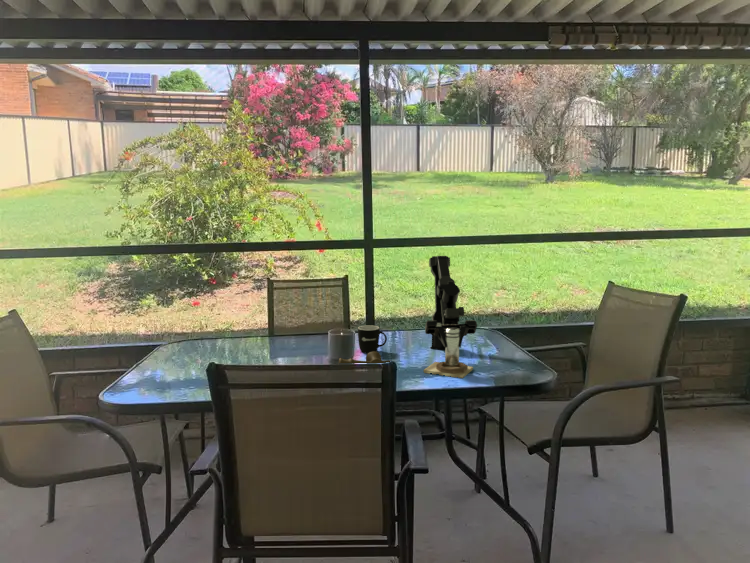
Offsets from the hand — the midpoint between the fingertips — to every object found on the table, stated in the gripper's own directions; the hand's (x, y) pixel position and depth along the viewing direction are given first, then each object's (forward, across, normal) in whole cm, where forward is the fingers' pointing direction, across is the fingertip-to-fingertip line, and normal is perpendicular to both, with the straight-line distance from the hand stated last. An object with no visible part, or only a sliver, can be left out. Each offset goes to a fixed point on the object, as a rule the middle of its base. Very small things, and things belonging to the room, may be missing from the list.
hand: (452, 346), depth 218 cm
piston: (+4, 0, +6) cm, 7 cm away
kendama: (+4, -32, +11) cm, 34 cm away
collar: (+5, -1, +9) cm, 10 cm away
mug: (-14, -29, +28) cm, 43 cm away
